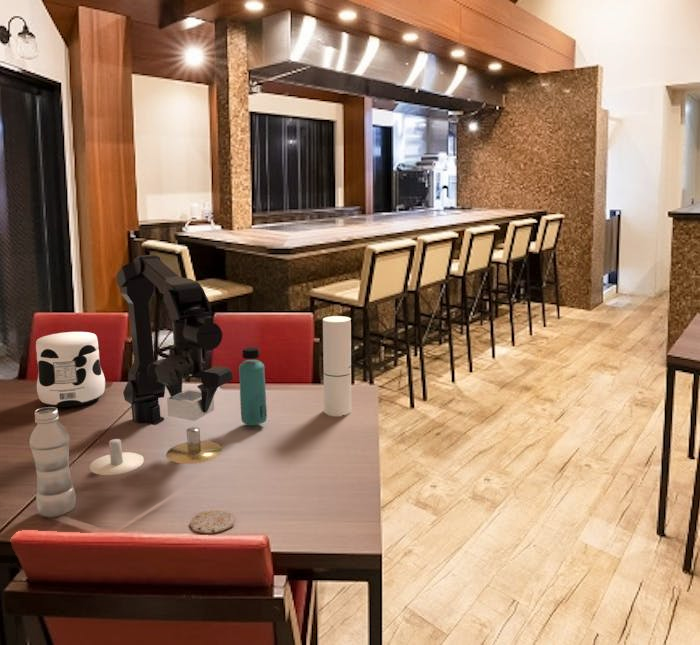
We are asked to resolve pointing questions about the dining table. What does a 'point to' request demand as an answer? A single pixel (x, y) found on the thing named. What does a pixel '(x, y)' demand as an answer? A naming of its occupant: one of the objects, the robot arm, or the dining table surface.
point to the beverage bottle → (252, 388)
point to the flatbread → (212, 521)
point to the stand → (116, 461)
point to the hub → (194, 449)
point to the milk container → (69, 369)
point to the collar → (187, 405)
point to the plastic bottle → (52, 464)
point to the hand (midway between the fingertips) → (191, 409)
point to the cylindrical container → (337, 365)
